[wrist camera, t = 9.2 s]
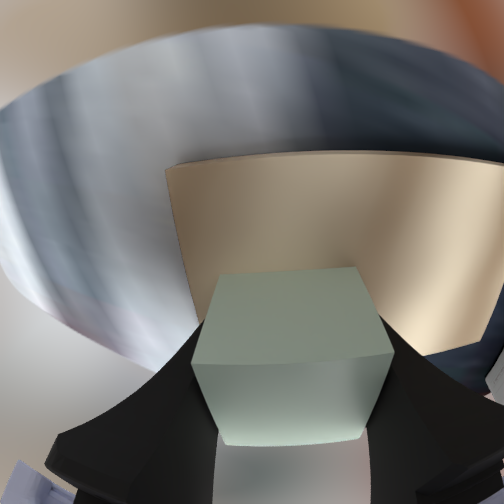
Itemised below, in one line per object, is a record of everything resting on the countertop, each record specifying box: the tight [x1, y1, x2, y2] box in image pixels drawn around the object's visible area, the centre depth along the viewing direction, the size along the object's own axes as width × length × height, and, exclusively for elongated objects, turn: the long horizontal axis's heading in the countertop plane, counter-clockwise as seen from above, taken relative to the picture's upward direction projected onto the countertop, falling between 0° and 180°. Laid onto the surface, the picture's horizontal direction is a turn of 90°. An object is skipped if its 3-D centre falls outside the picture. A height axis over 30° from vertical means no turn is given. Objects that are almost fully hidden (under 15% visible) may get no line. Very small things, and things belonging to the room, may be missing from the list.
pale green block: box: [191, 266, 394, 446], centre depth 8 cm, size 5×5×4 cm
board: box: [165, 150, 504, 356], centre depth 10 cm, size 14×9×1 cm, turn 96°
